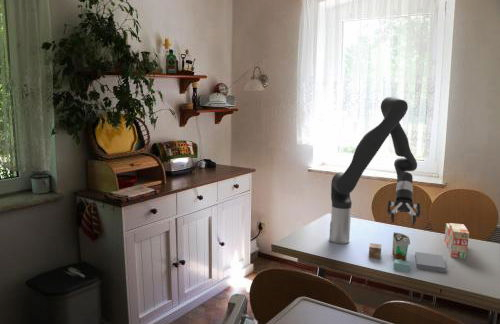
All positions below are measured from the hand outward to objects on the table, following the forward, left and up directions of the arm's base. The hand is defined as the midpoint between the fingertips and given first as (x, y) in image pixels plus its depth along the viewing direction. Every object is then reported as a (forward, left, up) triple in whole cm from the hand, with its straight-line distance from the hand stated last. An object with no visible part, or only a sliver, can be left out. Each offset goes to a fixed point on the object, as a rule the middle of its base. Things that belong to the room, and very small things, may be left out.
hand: (403, 222), depth 188 cm
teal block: (0, -21, -14) cm, 25 cm away
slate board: (+11, -11, -13) cm, 21 cm away
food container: (0, -10, -14) cm, 17 cm away
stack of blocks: (+24, +11, -14) cm, 30 cm away
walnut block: (-11, -11, -14) cm, 21 cm away
